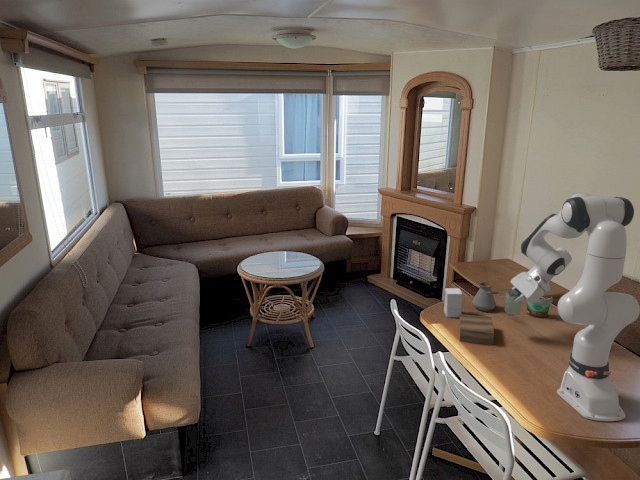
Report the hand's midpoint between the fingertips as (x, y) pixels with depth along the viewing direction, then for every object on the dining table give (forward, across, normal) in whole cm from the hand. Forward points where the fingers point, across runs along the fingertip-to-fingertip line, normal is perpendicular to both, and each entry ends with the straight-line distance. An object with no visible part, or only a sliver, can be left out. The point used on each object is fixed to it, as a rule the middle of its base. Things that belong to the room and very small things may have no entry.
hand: (512, 299), depth 205 cm
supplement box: (+26, -22, -1) cm, 34 cm away
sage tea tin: (+4, 0, +5) cm, 6 cm away
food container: (-3, -19, +28) cm, 34 cm away
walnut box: (+23, -1, +3) cm, 23 cm away
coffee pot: (+14, -24, +12) cm, 30 cm away
